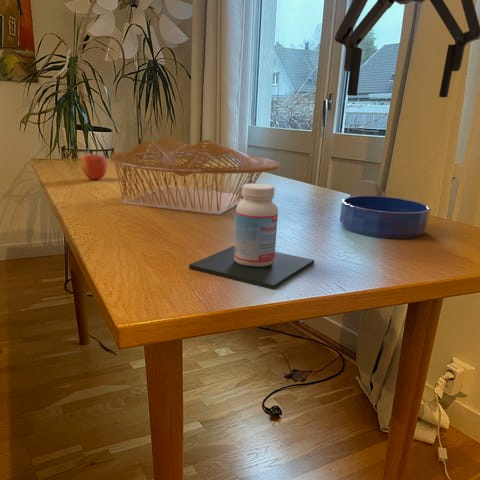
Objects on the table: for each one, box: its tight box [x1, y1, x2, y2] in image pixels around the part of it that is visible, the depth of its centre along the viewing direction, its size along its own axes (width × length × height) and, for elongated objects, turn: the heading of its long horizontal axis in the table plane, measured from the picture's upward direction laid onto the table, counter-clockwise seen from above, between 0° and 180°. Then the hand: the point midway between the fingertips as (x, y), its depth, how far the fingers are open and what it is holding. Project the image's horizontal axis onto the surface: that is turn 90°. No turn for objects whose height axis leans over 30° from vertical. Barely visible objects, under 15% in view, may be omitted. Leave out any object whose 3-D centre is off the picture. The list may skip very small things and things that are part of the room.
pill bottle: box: [234, 183, 279, 267], centre depth 70 cm, size 6×6×11 cm
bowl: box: [339, 196, 432, 240], centre depth 97 cm, size 17×17×5 cm
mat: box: [188, 245, 315, 290], centre depth 72 cm, size 14×14×1 cm
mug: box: [349, 179, 387, 197], centre depth 113 cm, size 8×10×10 cm
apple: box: [80, 149, 108, 181], centre depth 136 cm, size 7×7×8 cm
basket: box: [109, 137, 281, 216], centre depth 113 cm, size 36×40×14 cm
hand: (395, 96), depth 72 cm, fingers open, 13 cm apart
